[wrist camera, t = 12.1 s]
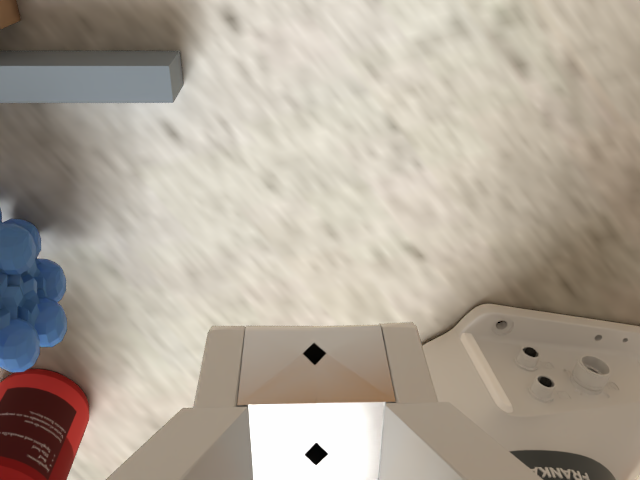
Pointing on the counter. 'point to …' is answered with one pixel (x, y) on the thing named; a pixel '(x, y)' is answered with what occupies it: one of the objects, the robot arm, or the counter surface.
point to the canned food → (40, 425)
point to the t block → (8, 13)
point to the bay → (90, 76)
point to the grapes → (27, 297)
